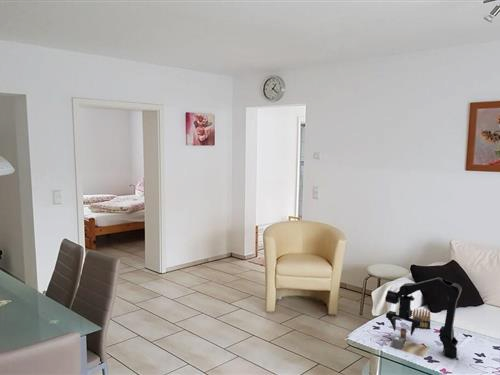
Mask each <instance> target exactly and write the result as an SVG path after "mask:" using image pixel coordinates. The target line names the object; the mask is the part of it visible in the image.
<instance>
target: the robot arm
mask: <svg viewBox="0 0 500 375" xmlns="http://www.w3.org/2000/svg"><path fill="white" fill-rule="evenodd" d="M434 287H439V289H441V290H442V291H444V292H445V293H447V301H448V302H447V308H446V312H445V313H446V315H445V321H444V325H442V326H441V327H440V329H439V335H438V338H439V341H440V342H441V344H442V346H443V347H442V354H443V356H444V357H447V358H449V359H455V361H459V358H458V357H457V356H458V355H457V354H458V352H457V351H458V348H457V345H458V343H459V341H458V339H456V337H455V331H454V330H455V329H454V322H455V317H456V310H457V304H458V301H459V298H460V296H461V293H462V291H463V287H462V286H461V285H460V284H458V283H456V282H452V281H450V280H448V279H444V278H443V277H439V276H438V277H436V278H431V279H427V280H424V281H420V282H406V283H404V284H402V285H401V286H400V287H399V288H398V291H393V290H391V289H390V290H389V289H388V290H387V292H386V294H385V299H384V300H385V303H388V304H393V305H397V304H399V306H398V314H397V312H396V311H393V310H389V311H387V312H386V314H385V318H386V319H387V320H389V322H390V323H391V326H392V328H393V331H394V332H395V331H396V329H397V326H396V324H397V323H396V322H397V319H399V320H402V321H406V322H409V323H410V322H411V328H410V336H413V334H414V332H415V330H416V329H417V328H416V327H420V326H421V325H422V322H423V321H422V318H421V319H420V318H416V317H415V318H414V319H413V312H414V310H413V309H412V310H411V301H412V302H413V301H414V300H415V299H416V298H415V297H414V296H413V293H415V292H419V291H422V290H426V289H431V288H434ZM411 317H412V318H411Z"/></svg>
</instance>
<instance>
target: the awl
mask: <svg viewBox="0 0 500 375" xmlns="http://www.w3.org/2000/svg"><path fill="white" fill-rule="evenodd" d="M399 337H401V338H404V343H405V342H406V341H407V329H406V328H403V327H402V328H400V335H399Z"/></svg>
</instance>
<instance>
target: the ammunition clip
mask: <svg viewBox="0 0 500 375" xmlns="http://www.w3.org/2000/svg"><path fill="white" fill-rule="evenodd" d="M430 310H431V309H429V310H427V309H423V310H422V309H421V308H420V309H417V310H416V308H414V309H413V312H412V319H414V318H415V317H416V318H420V319H422V321H423V322H422V325H421V326H420V327H416V328H415V329H418V328H419V329H418V330H420V329H421V330H431V311H430Z"/></svg>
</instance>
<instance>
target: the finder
mask: <svg viewBox="0 0 500 375" xmlns="http://www.w3.org/2000/svg"><path fill="white" fill-rule="evenodd" d="M391 344H392V347H394V348H393V349H395V348H397V349H396V350H398V349H400V350H399V351H402V350H401V349H402V348H403V347H404V338H401V337H400V336H396V335H395V336H394V337H392V340H391ZM392 347H391V348H392Z"/></svg>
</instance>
